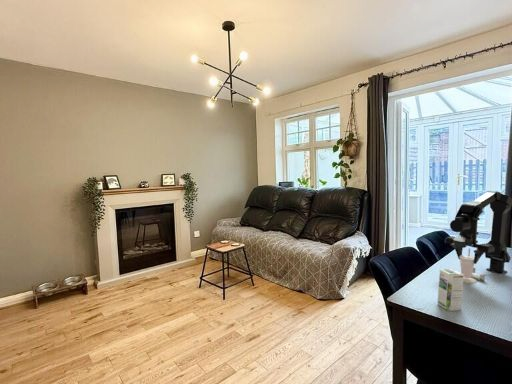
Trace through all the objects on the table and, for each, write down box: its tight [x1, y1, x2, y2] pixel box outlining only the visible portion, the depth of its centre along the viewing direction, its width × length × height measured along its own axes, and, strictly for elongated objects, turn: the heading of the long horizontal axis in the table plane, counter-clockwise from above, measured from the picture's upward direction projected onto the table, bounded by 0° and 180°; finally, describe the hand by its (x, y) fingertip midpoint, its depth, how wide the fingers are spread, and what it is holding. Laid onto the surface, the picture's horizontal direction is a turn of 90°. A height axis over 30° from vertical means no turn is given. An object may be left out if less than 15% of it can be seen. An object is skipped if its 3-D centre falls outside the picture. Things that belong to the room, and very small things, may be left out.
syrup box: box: [437, 268, 464, 312], centre depth 107 cm, size 6×6×14 cm
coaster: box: [463, 277, 478, 284], centre depth 133 cm, size 8×8×1 cm
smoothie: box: [459, 248, 475, 278], centre depth 132 cm, size 6×6×14 cm
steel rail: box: [471, 267, 486, 283], centre depth 136 cm, size 7×9×3 cm
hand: (467, 261), depth 132 cm, fingers closed on smoothie, 6 cm apart
